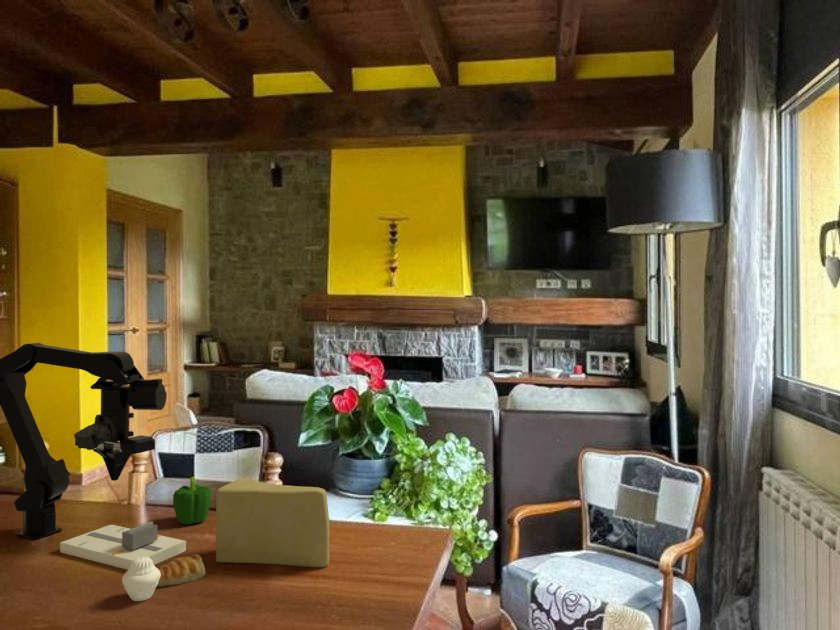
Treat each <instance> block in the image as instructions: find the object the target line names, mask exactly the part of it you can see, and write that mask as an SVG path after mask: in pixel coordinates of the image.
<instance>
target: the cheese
mask: <svg viewBox="0 0 840 630" xmlns="http://www.w3.org/2000/svg"><path fill="white" fill-rule="evenodd" d="M215 495H216V502H215V503H216V505H215V506H216V508H215V510H216V511H215V514H216V516H215V521H216V522H215V525H216V526H215V561H216V562H217V563H223V564H226V563H227V564H230V563H232V564H233V563H234V564H260V565H261V564H263V565H264V564H266V565H279V566H291V567H306V568H326V567H327V566H328V565H329V564H330V515H329V504H328V494H327V491H326V489H324V488H321V487H319V486H317V487H316V486H297V485H284V484H281V485H280V484H275V483H274V484H273V483H268V482H264V481H263V482H262V481H259V480H253V479H247V478H238V479H235V480H233V481H231V482H229V483H227V484H224V485H223V486H221V487H219V488H218V489H217V490H216V494H215Z"/></svg>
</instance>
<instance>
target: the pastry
mask: <svg viewBox="0 0 840 630" xmlns="http://www.w3.org/2000/svg"><path fill="white" fill-rule="evenodd" d="M157 569H158V570H159V571H160V573H161V577H160V579H159V583H158V585H157V587H159V588H160V587H161V588H162V587H170V586H178V585H182V584H186V583H190V582H194V581H197V580H200V579H203V578H204V576H205V575H206V567H205V565H204V563H203V559H202V557H201V556H200V555H199V553H195V554H194V553H191V554H190V555H188V556H180V557H175V558H173V559H172V560H170V561H169V562H167V563H166V564H164V565H161V566H159V567H158V568H157Z"/></svg>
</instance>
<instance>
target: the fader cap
mask: <svg viewBox="0 0 840 630" xmlns="http://www.w3.org/2000/svg"><path fill="white" fill-rule="evenodd" d="M129 529H130V530H127V531H124V532H122V547H123V548H127V549H131V550H134V549H137V548H139V547H141V546H144V545H146V544H149V543H151V542H154V541H156V540H157V535H158V525H157V524H154V521H148V522H147V523H144V524H141V525H139V526H136V527H133V528H129Z"/></svg>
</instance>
